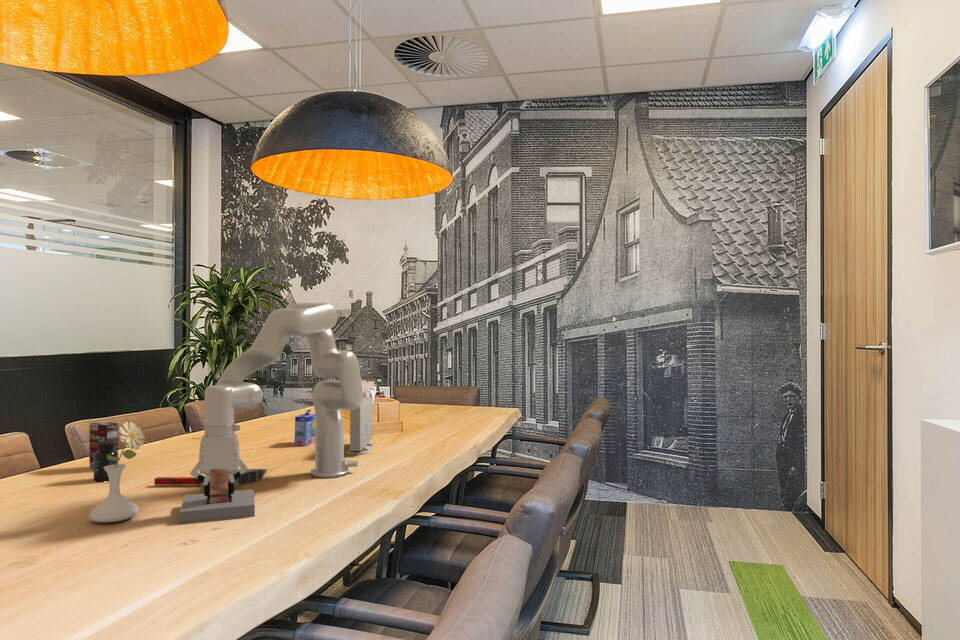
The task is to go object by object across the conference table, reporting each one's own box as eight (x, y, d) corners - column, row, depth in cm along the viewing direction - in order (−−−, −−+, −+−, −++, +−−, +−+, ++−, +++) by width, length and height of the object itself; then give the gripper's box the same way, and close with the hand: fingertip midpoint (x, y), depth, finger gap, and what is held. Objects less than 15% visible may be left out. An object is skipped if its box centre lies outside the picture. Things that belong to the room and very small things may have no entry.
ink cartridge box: (306, 446, 256) (306, 411, 256) (293, 446, 257) (294, 411, 257) (316, 442, 266) (316, 408, 266) (304, 441, 266) (304, 407, 266)
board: (253, 499, 180) (253, 489, 180) (254, 516, 165) (254, 504, 165) (185, 506, 173) (185, 495, 173) (179, 523, 158) (179, 511, 158)
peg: (228, 500, 172) (228, 464, 172) (228, 505, 168) (228, 468, 168) (210, 502, 170) (210, 466, 170) (209, 507, 166) (209, 470, 166)
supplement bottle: (88, 480, 200) (89, 443, 200) (110, 476, 206) (110, 440, 206) (101, 483, 197) (101, 445, 197) (122, 478, 203) (122, 442, 203)
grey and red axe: (177, 464, 209) (267, 464, 210) (177, 475, 209) (267, 475, 210) (140, 482, 185) (242, 482, 186) (140, 495, 185) (241, 495, 186)
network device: (365, 456, 238) (365, 404, 238) (342, 456, 238) (343, 404, 238) (377, 443, 263) (377, 396, 263) (356, 443, 263) (357, 396, 263)
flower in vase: (102, 529, 154) (103, 428, 154) (79, 521, 160) (80, 424, 160) (154, 515, 165) (154, 421, 165) (130, 508, 171) (131, 417, 171)
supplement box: (88, 468, 216) (88, 423, 216) (101, 465, 220) (101, 421, 220) (105, 471, 213) (106, 424, 213) (118, 468, 217) (118, 422, 217)
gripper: (252, 426, 176) (252, 491, 176) (186, 430, 170) (186, 497, 170) (252, 431, 168) (252, 498, 169) (184, 435, 162) (183, 504, 162)
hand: (219, 497), depth 169 cm, fingers closed on peg, 4 cm apart
